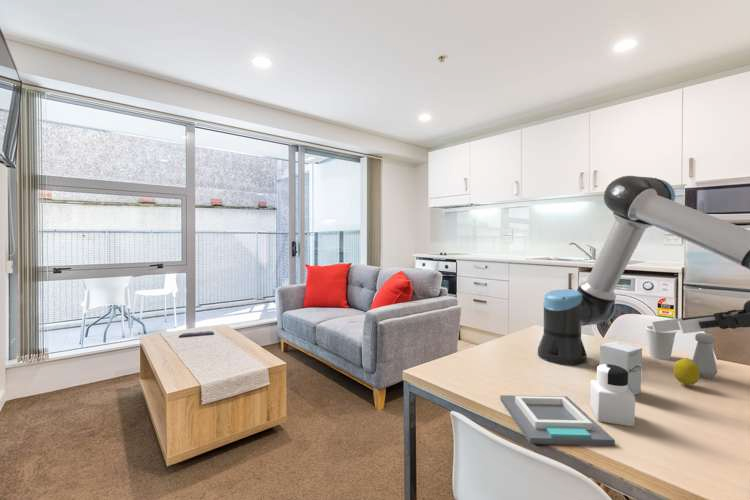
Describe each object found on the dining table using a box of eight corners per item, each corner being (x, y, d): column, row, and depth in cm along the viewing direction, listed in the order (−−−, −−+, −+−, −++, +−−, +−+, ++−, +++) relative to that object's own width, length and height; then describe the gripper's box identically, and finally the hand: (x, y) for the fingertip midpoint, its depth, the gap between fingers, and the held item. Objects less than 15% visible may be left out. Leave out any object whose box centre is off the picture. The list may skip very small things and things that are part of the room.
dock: (500, 399, 90) (500, 389, 90) (566, 401, 89) (567, 390, 89) (529, 443, 71) (530, 430, 71) (614, 445, 70) (614, 432, 70)
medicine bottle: (623, 412, 83) (624, 363, 83) (634, 427, 77) (636, 374, 76) (589, 407, 86) (590, 360, 85) (598, 421, 79) (599, 370, 79)
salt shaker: (722, 381, 101) (724, 337, 100) (699, 379, 102) (701, 336, 101) (707, 373, 107) (709, 332, 106) (686, 372, 108) (687, 331, 107)
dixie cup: (672, 355, 123) (673, 327, 122) (677, 362, 116) (678, 333, 115) (643, 351, 127) (644, 324, 127) (646, 358, 120) (647, 329, 120)
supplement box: (627, 399, 90) (628, 352, 89) (597, 388, 96) (598, 344, 96) (641, 393, 93) (643, 347, 93) (612, 383, 100) (613, 340, 99)
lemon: (667, 382, 100) (668, 355, 100) (685, 381, 101) (686, 354, 100) (686, 390, 95) (687, 362, 94) (704, 389, 95) (705, 361, 95)
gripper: (836, 331, 65) (701, 345, 70) (744, 330, 88) (648, 341, 93) (818, 292, 67) (688, 309, 72) (733, 301, 90) (639, 313, 95)
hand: (665, 327), depth 83 cm, fingers open, 13 cm apart
